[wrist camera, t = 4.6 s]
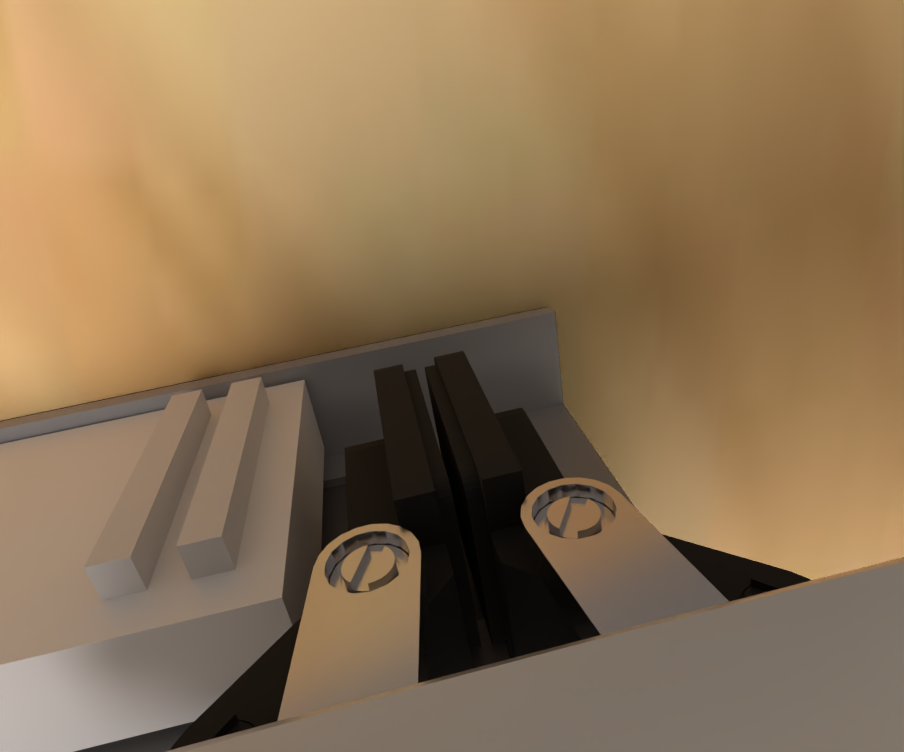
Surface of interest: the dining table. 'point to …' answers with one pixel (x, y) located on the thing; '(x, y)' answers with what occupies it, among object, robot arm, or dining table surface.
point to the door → (152, 562)
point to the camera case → (379, 421)
